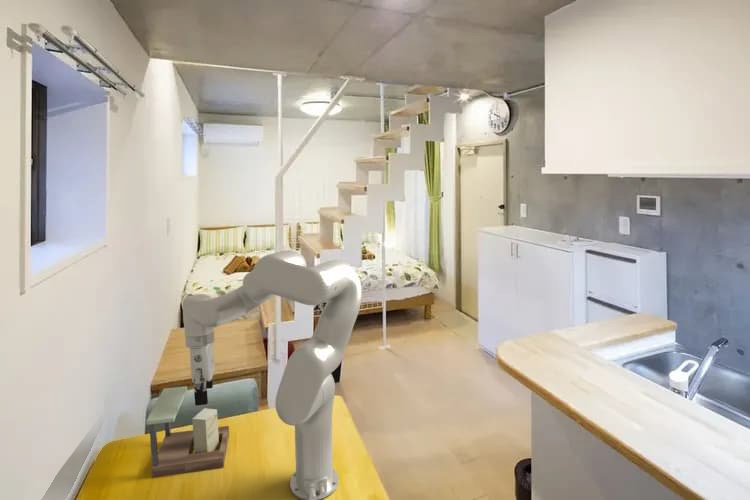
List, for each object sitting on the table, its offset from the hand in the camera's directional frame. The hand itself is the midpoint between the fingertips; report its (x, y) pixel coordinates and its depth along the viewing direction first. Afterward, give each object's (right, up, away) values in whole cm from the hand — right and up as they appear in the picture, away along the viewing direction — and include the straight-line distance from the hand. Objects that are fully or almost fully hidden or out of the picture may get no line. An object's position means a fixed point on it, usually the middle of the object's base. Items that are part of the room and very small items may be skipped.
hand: (204, 396), depth 119 cm
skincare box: (-1, -18, +3) cm, 18 cm away
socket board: (-4, -18, +2) cm, 18 cm away
